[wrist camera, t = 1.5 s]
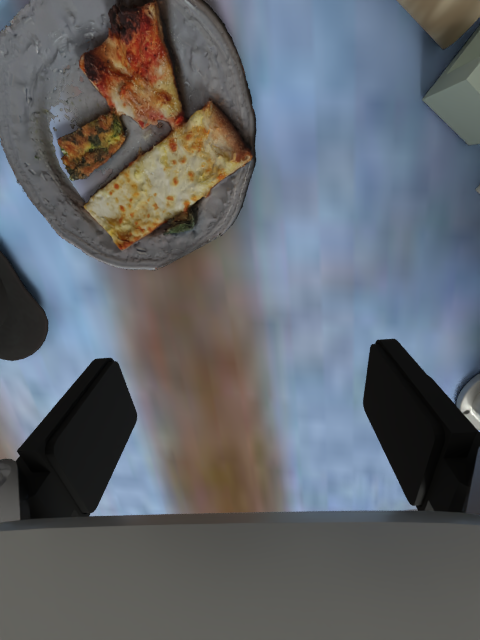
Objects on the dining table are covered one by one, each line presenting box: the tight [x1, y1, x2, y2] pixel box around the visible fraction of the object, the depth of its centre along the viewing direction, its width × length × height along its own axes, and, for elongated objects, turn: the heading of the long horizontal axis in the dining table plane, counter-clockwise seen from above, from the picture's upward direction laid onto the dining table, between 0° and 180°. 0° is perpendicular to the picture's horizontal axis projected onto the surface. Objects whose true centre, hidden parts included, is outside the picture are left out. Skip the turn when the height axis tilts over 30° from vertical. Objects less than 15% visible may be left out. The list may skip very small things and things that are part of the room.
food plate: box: [0, 0, 256, 271], centre depth 27 cm, size 25×23×4 cm
